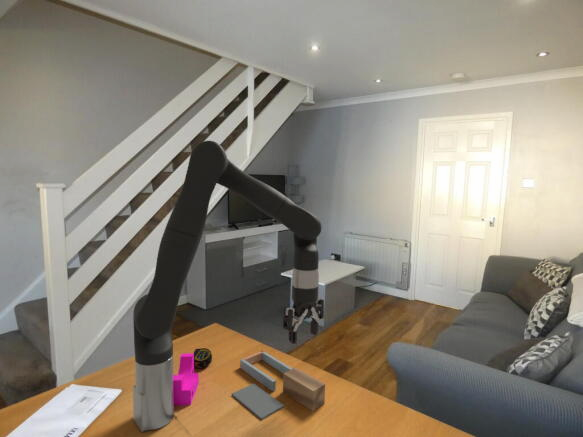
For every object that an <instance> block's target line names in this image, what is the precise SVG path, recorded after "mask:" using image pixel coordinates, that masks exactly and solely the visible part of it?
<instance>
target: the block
mask: <svg viewBox="0 0 583 437" xmlns="http://www.w3.org/2000/svg"><path fill="white" fill-rule="evenodd" d="M282 374H283V375H282V377H283V378H282V379H283V380H282V392H283V393H284V394H286V395H287V396H289V397H290V398H292V399H293V400H295V401H296V402H298V403H299V404H301V405H303V406H305V407H306V408H307V409H309V410H310V411H312V412H314V411H316V410H317V409H319V408H320V407H322V406H323V405H324V404H325V403H326V402H325V401H326V400H325V399H326V398H325V397H326V383H324V382H322V381H321V380H319V379H317V378H315V377H313V376H311V375H310V374H308V373H306V372H304V371H303V370H301V369H299V368H297V367H292V369H291V370H289V371H287V372H285V373H282Z"/></svg>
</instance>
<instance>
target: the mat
mask: <svg viewBox="0 0 583 437" xmlns="http://www.w3.org/2000/svg"><path fill="white" fill-rule="evenodd" d="M231 396H232V397H233V398H235V399H236V400H237V401H238V402H239V403H240V404H242V405H243V406H244V407H245V408H246V409H248V410H249V411H250V412H251V413H252V414H253V415H255V416H256V417H257V418H258V419H260V420H261V421H263V420H264V419H266V418H268V417H269V416H271V415H273V414H274V413H276V412H279V411H280V410H282V409H283V408H285V405H284V404H283V403H282V402H281V401H279V400H277V398H275V397H273V396H272V395H271V394H269V392H266V390H264V389H262V387H260V386H259V385H258V384H256V383H251V384H249V385H248V386H245V387H243V388H241V389H238V390H237V391H234V392H232V393H231Z"/></svg>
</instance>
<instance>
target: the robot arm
mask: <svg viewBox="0 0 583 437" xmlns="http://www.w3.org/2000/svg"><path fill="white" fill-rule="evenodd" d="M217 185H220V186H222V187H224V188H226V189H228V190H230V191H231V192H233V193H235V194H236V195H238V196H239V197H241V198H242V199H244V200H245V201H247V202H248V203H250V205H252V206H254V208H256V209H257V210H259V211H260V212H262V213H264V214H265V215H267V216H268V217H270V218H272V219H273V220H275V221H276V222H279V223H280V224H282V225H283V226H284V227H286V228H287V229H288V230H290V231H291V232H292V234H293V245H294V250H293V265H292V266H293V268H292V276H291V277H292V278H291V279H292V280H291V299H292V302H293V304H292V307H287V306H286V307H284V308H283V319H282V329H284V330H286V331H288V341H289V342H290V343H291V344H293V345H295V344H297V342H298V340H297V339H298V328H299V326H300V325H301V324H302V322H303V321H305V320H306V319H310V320H311V321H310V334H311V335H313V336H316V335H318V332H319V323H320V320H322V319H324V317H325V303H324V302H325V300H324V299H322V298H319V286H320V285H319V282H320V274H319V260H320V259H319V258H320V257H319V256H320V255H319V250H318V247H317V242H318V240H317V239H318V236H320V234H321V233H322V223H321V220H320V219H319V218H318V216H316V215H315V214H312V213H311V212H309V211H308V210H307V209H306V208H305V209H304V208H303V207H301V206H300V205H298V204H296V203H294V202H293V201H292V199H290V198H288V197H287V196H286V195H284V193H282V192H280V191H278V190H277V189H275V188H274V187H272V186H271V185H269V184H266V183H265V182H263V181H261V180H258V179H257V178H255V177H253V176H251V175H249V174H248V173H246V172H244V171H243V170H242V169H240V168H239V167H238V166H237V165H236V164H234V163H233V162H232V161H231V160H230V159H229V158H228V155H227V153H226V151H225V149H224V148H223V147H222V146H221V145H220V144H219V143H217V142H216V141H214V140H205V141H201V142H199V143H198V144H196V145H195V146H194V148H193V149H192V151H191V153H190V156H189V161H188V166H187V169H186V173H185V178H184V182H183V185H182V188H181V191H180V193H179V196H178V197H177V200H176V202H175V203H174V206H173V208H172V211H171V213H170V216H169V218H168V220H167V222H166V225H165V227H164V231H163V234H162V237H161V239H160V243H159V247H158V251H157V257H156V264H155V270H154V275H153V279H152V280H153V281H152V283H151V285H150V288H149V290H148V292H147V294H145V295H143V296H142V297H141V298H139V299H138V300H137V302H136V303H135V305H134V308H133V315H132V316H133V345H134V346H133V347H134V368H135V369H134V373H135V374H134V375H135V378H134V379H135V385H133V386H132V399H133V400H132V402H133V403H132V406H133V421H134V422H135V424H136V426H137V427H138V429H139V430H140V432H142V433H143V432H145V431H151V430H159V429H160V428H163V427H165V426H167V424H169V423H170V422H172V420H173V418H174V414H175V412H174V411H175V405H174V392H173V375H174V343H173V336H172V326H173V325H174V322H175V318H176V315H177V310H178V305H179V301H180V297H181V292H182V290H183V287H184V284H185V282H186V279H187V277H188V274H189V272H190V269H191V267H192V264H193V261H194V260H195V259H194V258H195V255H196V253H197V251H198V248H199V245H200V243H201V239H202V237H203V233H204V230H205V228H206V222H207V218H208V217H207V216H208V211H209V205H210V201H211V198H212V195H213V193H214V190H215V188H216V186H217ZM296 318H297V319H296Z"/></svg>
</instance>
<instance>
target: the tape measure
mask: <svg viewBox="0 0 583 437" xmlns="http://www.w3.org/2000/svg"><path fill="white" fill-rule="evenodd" d="M193 353H194V368H197V369H203V368H207V367H208V366H209V365H211V363H212V360H213V354H212V351H211V350H210V349H209V348H205V347H203V348H202V347H201V348H195V349H194V351H193Z"/></svg>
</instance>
